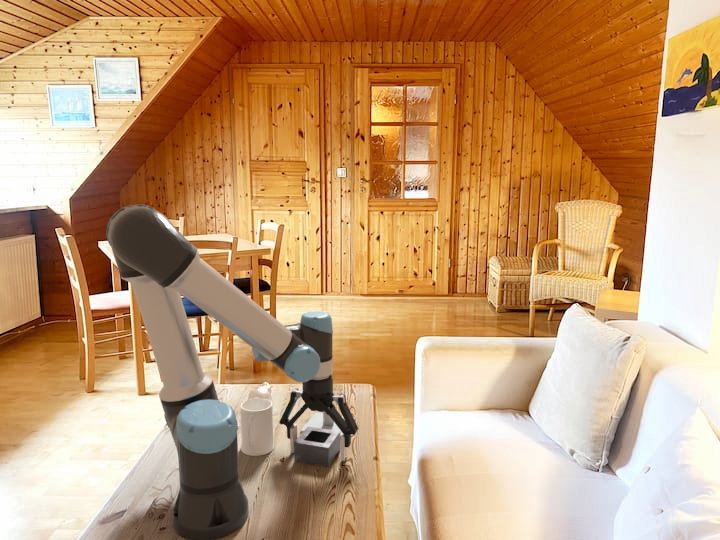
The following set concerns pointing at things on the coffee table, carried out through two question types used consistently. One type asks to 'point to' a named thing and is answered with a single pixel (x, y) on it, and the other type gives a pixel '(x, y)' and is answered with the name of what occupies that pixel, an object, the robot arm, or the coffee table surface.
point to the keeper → (322, 422)
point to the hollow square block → (317, 446)
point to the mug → (257, 427)
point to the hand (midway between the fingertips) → (318, 454)
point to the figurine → (261, 392)
